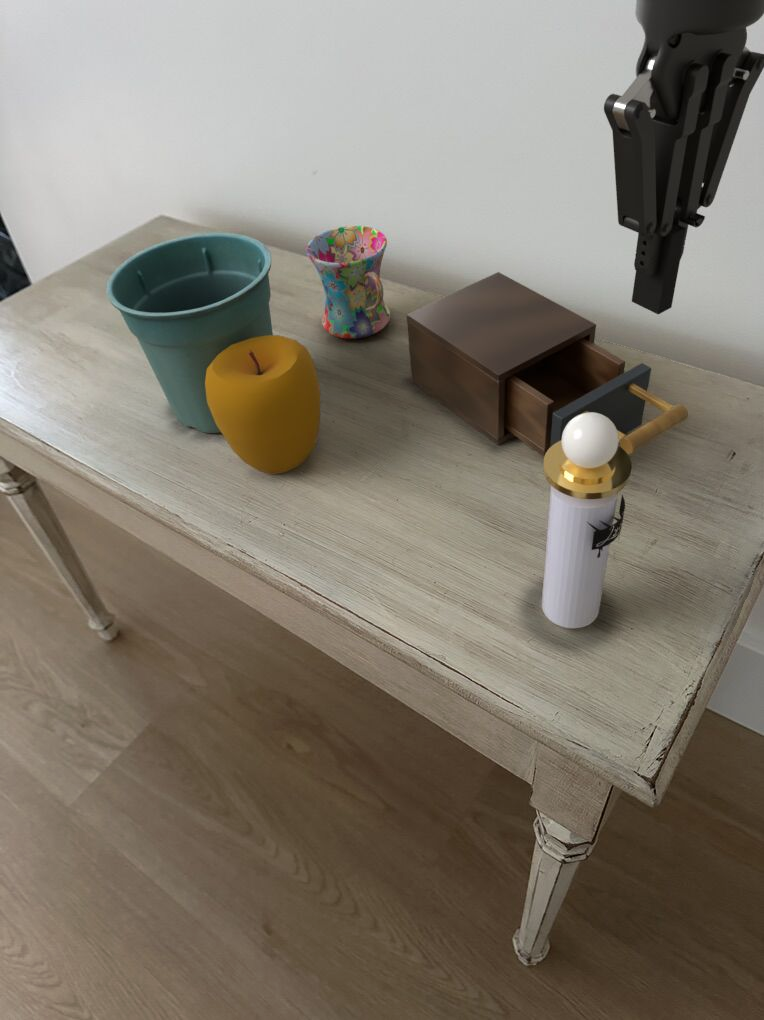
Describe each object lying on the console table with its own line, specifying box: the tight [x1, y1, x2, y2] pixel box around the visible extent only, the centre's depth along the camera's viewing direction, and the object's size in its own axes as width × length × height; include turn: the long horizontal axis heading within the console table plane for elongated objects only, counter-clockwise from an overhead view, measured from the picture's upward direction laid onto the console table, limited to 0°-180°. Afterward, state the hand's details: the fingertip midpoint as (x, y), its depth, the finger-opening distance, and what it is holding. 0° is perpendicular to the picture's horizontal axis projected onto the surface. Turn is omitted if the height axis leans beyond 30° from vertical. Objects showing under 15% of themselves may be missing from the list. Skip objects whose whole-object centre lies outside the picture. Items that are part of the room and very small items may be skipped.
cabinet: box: [406, 271, 597, 446], centre depth 83 cm, size 15×13×9 cm
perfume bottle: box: [541, 412, 633, 629], centre depth 57 cm, size 6×6×20 cm
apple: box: [205, 334, 321, 475], centre depth 77 cm, size 11×11×13 cm
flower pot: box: [105, 232, 274, 434], centre depth 84 cm, size 16×16×16 cm
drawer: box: [504, 338, 690, 457], centre depth 76 cm, size 20×11×7 cm, turn 35°
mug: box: [306, 225, 391, 340], centre depth 93 cm, size 12×9×11 cm
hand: (651, 304), depth 62 cm, fingers closed
